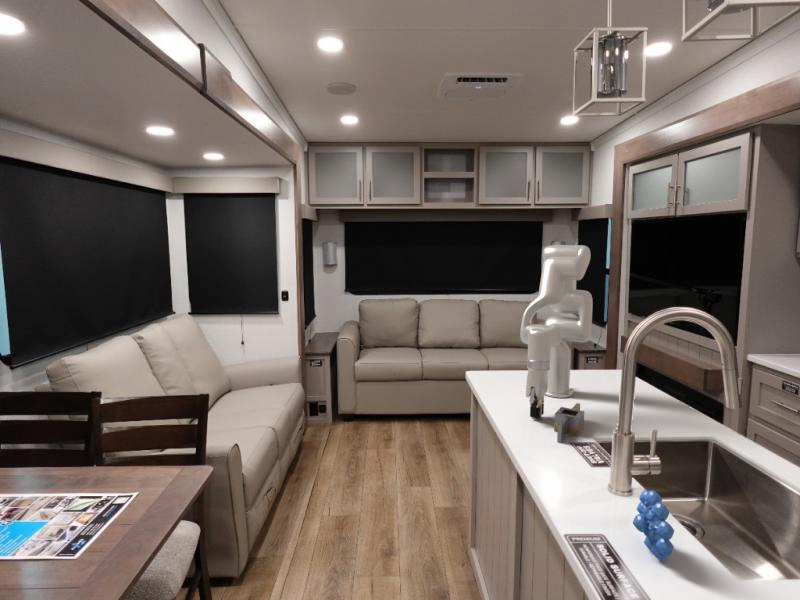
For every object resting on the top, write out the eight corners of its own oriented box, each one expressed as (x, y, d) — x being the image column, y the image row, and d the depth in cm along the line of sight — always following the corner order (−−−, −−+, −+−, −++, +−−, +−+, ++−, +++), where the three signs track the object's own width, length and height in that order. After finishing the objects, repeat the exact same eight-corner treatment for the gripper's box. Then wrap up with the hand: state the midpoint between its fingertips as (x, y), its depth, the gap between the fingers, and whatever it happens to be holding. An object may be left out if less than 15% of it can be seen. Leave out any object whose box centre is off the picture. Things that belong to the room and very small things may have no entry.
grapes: (618, 532, 101) (622, 479, 99) (651, 533, 100) (655, 480, 99) (643, 570, 89) (647, 510, 88) (680, 571, 89) (685, 511, 87)
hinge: (566, 416, 167) (567, 400, 166) (589, 421, 163) (589, 404, 162) (546, 439, 148) (547, 421, 147) (571, 445, 144) (572, 426, 143)
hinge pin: (533, 416, 167) (534, 391, 166) (542, 418, 166) (543, 393, 165) (530, 419, 165) (531, 394, 164) (539, 421, 163) (540, 395, 162)
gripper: (535, 358, 172) (533, 406, 174) (519, 368, 158) (518, 421, 160) (556, 360, 168) (554, 410, 170) (542, 371, 154) (540, 425, 156)
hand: (536, 415), depth 165 cm, fingers open, 3 cm apart
